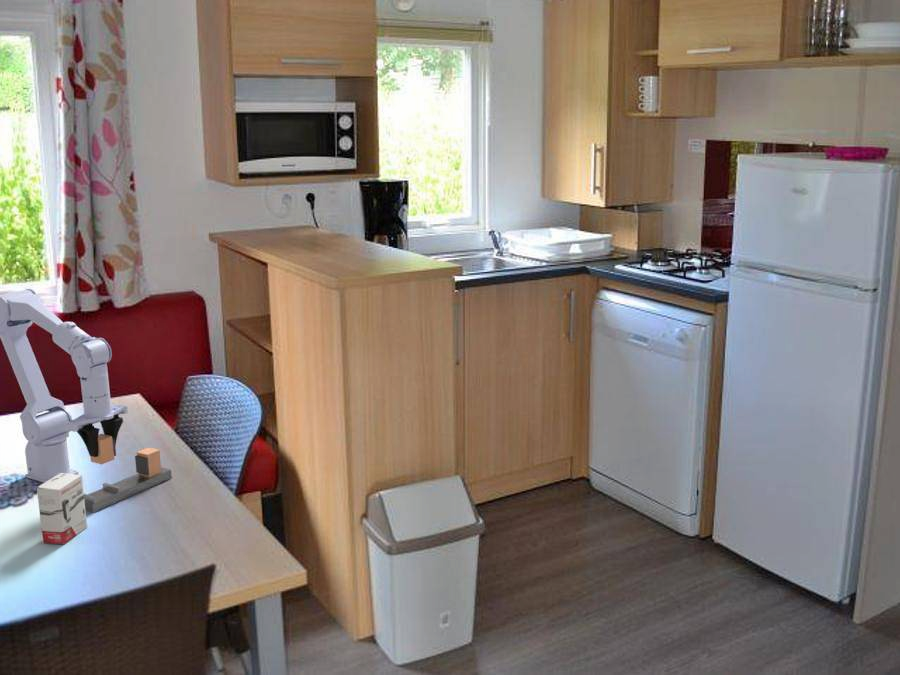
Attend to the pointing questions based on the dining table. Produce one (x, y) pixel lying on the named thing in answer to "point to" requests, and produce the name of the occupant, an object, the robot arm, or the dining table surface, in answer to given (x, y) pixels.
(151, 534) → the dining table surface
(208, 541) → the dining table surface
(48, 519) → the ink box
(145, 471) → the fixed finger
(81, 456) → the dining table surface
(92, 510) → the rail
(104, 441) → the tan block with backing
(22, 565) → the dining table surface
